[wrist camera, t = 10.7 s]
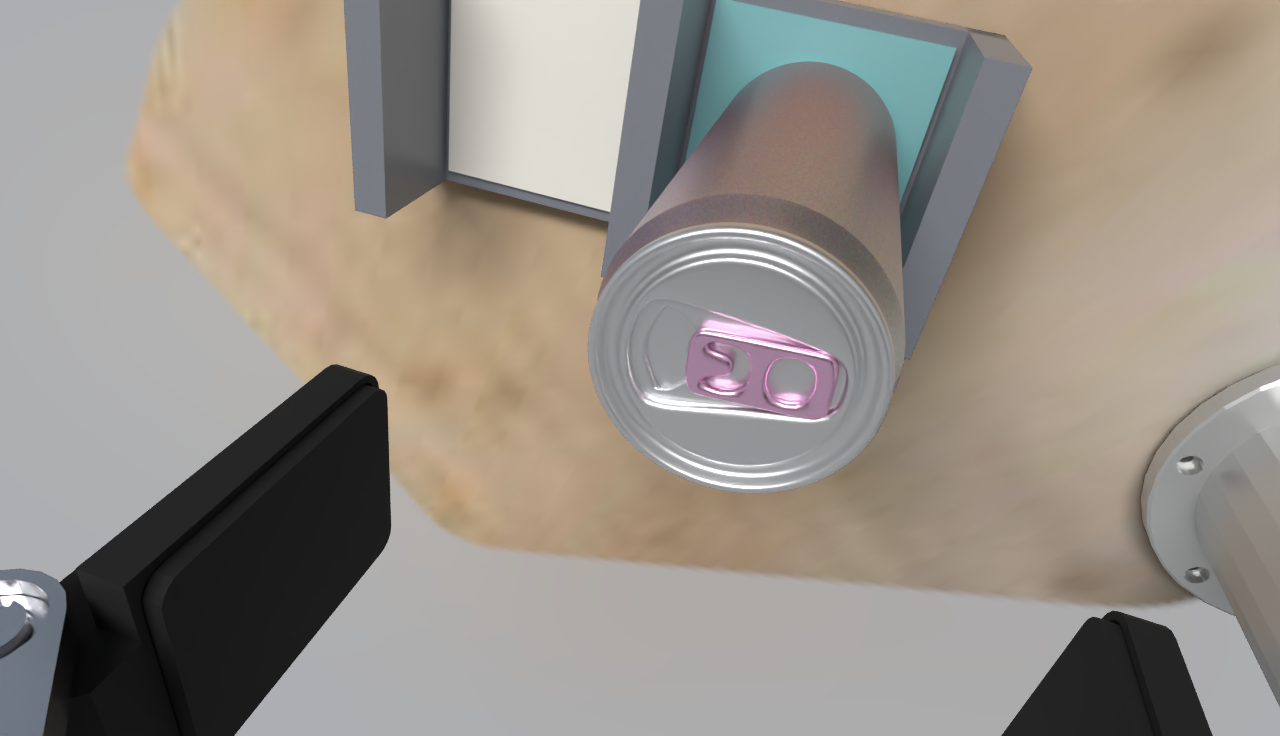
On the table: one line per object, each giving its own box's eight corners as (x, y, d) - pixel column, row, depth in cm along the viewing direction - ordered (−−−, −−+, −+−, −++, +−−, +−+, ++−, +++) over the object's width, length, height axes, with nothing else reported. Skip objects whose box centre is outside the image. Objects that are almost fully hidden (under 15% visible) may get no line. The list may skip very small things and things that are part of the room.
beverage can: (871, 246, 27) (860, 534, 15) (707, 217, 28) (571, 463, 16) (918, 71, 24) (952, 253, 12) (731, 45, 25) (583, 187, 13)
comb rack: (1004, 35, 24) (1032, 67, 20) (905, 287, 29) (909, 359, 24) (431, -84, 27) (339, -81, 22) (430, 165, 32) (355, 210, 27)
